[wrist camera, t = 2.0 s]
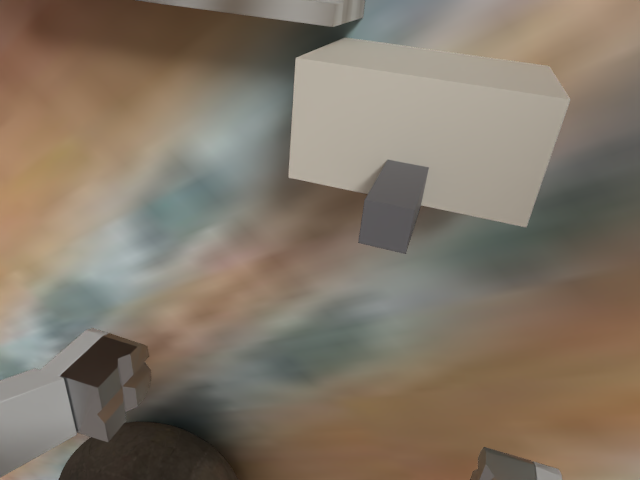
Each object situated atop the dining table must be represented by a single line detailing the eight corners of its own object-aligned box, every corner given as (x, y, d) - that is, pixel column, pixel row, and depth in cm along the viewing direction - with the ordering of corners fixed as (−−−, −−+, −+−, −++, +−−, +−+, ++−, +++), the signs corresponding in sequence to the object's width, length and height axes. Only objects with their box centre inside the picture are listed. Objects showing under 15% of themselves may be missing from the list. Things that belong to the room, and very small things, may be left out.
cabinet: (549, 65, 27) (591, 132, 16) (518, 165, 30) (534, 283, 19) (345, 37, 30) (250, 76, 18) (335, 131, 33) (248, 217, 21)
